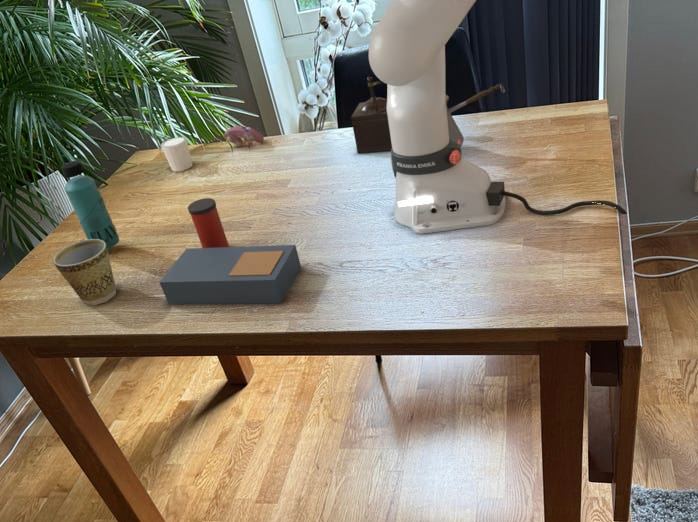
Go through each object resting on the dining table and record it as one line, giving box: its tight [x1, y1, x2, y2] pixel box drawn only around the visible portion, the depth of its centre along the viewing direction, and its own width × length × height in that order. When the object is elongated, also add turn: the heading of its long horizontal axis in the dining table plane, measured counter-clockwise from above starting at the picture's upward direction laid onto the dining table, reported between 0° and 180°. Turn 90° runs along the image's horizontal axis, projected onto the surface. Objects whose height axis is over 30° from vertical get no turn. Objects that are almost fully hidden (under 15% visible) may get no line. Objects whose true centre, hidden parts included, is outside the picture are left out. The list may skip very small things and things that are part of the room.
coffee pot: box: [445, 83, 506, 147], centre depth 159 cm, size 21×12×15 cm, turn 75°
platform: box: [159, 244, 302, 305], centre depth 131 cm, size 23×12×5 cm, turn 77°
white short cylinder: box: [160, 136, 193, 172], centre depth 184 cm, size 7×7×7 cm
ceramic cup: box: [52, 239, 117, 306], centre depth 136 cm, size 13×10×10 cm
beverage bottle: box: [61, 160, 120, 250], centre depth 148 cm, size 6×7×20 cm
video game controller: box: [223, 125, 265, 147], centre depth 190 cm, size 10×5×7 cm, turn 68°
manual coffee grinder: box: [350, 76, 392, 154], centre depth 172 cm, size 16×11×18 cm
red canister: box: [187, 197, 230, 248], centre depth 141 cm, size 6×6×11 cm
